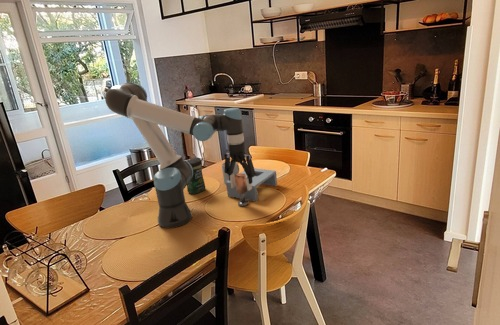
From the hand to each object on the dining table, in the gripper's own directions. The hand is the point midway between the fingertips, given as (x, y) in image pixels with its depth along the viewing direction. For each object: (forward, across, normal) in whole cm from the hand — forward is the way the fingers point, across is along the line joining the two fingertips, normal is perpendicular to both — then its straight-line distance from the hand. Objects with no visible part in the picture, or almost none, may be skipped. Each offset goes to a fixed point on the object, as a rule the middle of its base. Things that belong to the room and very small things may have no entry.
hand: (241, 188), depth 159 cm
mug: (+9, +23, -24) cm, 34 cm away
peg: (+8, 0, 0) cm, 8 cm away
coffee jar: (+9, +34, -5) cm, 35 cm away
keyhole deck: (+8, +4, -16) cm, 19 cm away
